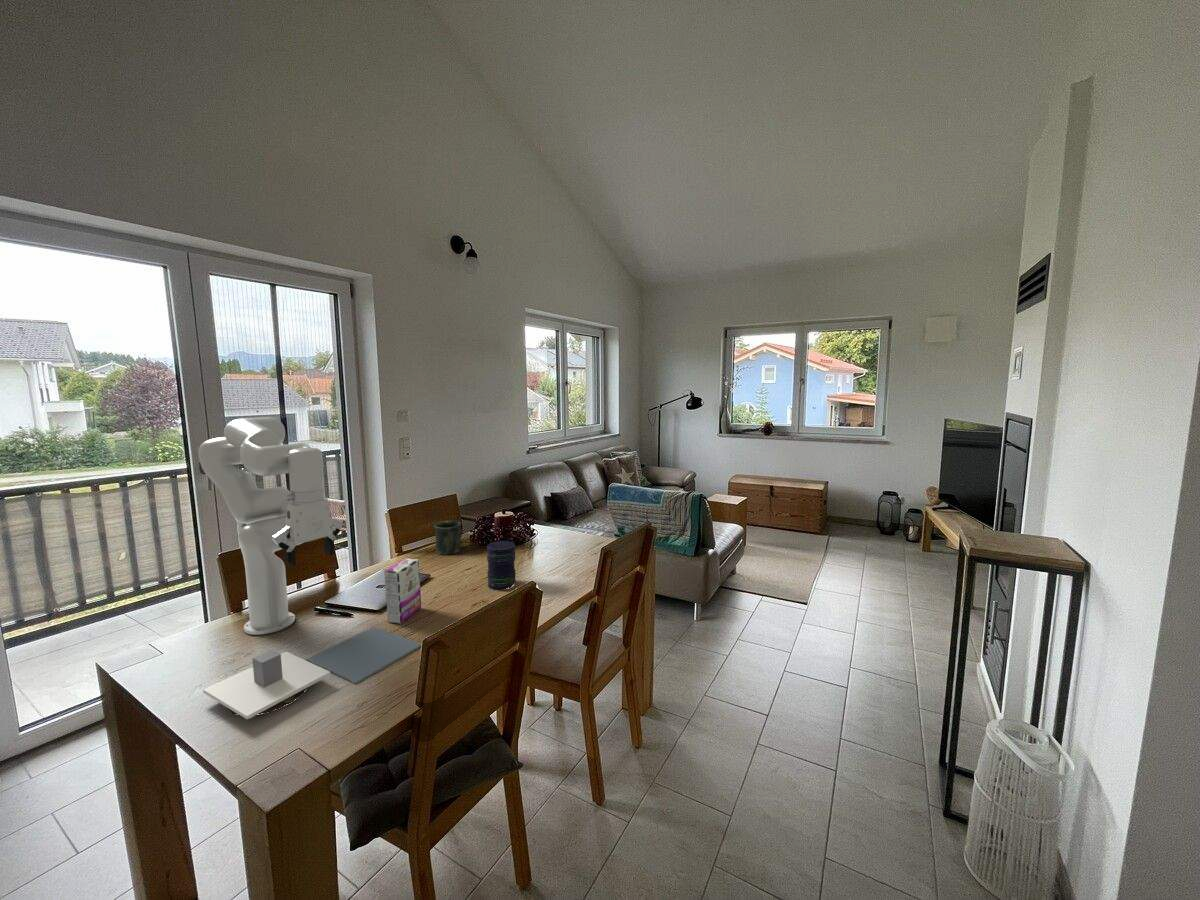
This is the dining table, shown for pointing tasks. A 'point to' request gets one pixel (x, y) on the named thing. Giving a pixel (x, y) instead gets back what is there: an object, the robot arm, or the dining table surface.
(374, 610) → the dining table surface
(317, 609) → the dining table surface
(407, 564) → the candy bar box
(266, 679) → the lid
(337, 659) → the mat
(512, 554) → the storage jar
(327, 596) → the dining table surface
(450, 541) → the mug
